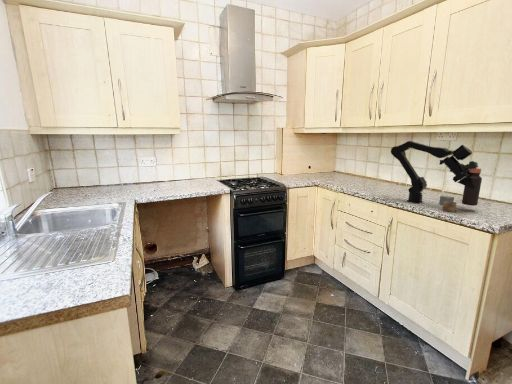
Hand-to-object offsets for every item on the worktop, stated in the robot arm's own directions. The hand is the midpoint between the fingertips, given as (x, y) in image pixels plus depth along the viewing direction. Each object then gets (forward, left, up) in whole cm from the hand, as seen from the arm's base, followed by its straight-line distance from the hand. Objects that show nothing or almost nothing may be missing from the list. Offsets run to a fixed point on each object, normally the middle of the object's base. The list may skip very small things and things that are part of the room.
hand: (475, 187), depth 144 cm
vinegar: (-1, 0, -10) cm, 10 cm away
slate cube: (-15, +4, -13) cm, 20 cm away
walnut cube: (-7, -10, -13) cm, 18 cm away
